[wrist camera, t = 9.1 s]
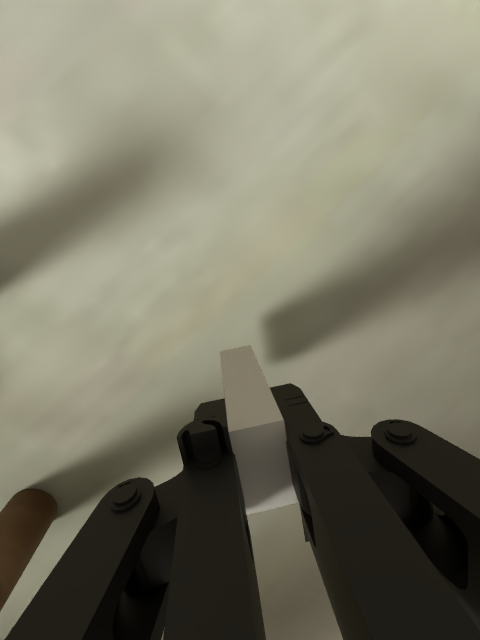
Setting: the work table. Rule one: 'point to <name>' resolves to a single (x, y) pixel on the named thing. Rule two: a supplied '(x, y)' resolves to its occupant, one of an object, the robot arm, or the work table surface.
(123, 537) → the robot arm
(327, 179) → the work table surface
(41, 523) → the post
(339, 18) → the work table surface
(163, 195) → the work table surface
